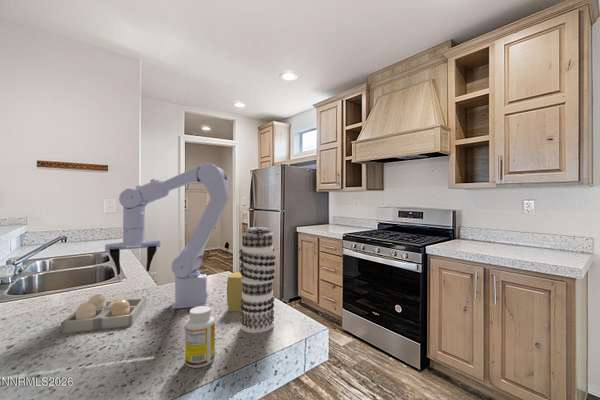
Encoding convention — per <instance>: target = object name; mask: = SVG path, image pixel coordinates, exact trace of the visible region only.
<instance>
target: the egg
mask: <svg viewBox="0 0 600 400" xmlns="http://www.w3.org/2000/svg"><path fill="white" fill-rule="evenodd" d="M116 300H117V299H116ZM129 314H130V304H129V302H128V301H127V300H125V299H122V298H120V299H118V300H117V301H116V302H115V303H114V304H113V305H112V308H111V316H122V315H129Z"/></svg>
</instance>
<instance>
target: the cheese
mask: <svg viewBox="0 0 600 400" xmlns="http://www.w3.org/2000/svg"><path fill="white" fill-rule="evenodd" d="M241 277H242V275H241V273H240V271H237V272H236V271H235V272H232V273H230V274H229V275H228V277H227V281H226V282H227V283H226V302H227V310H228V312H241V311H242V309H241V305H242V303H241V298H242V291H243V282H242V281H241Z"/></svg>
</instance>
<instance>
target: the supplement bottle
mask: <svg viewBox="0 0 600 400" xmlns="http://www.w3.org/2000/svg"><path fill="white" fill-rule="evenodd" d="M211 314H212V312H211V307H210V306H207V305H205V306H198V307H191V308H190V310H189V315H188V317H189V318H188V319H187V320H186V321H185V323H184V330H185V331H184V341H185V342H184V349H185V350H184V353H185V355H184V361H185V365H186V366H188V367H189V368H194V369H197V368H203V367H206V366H208V365H210V364H211V363H212V362H213V361H214V359H215V356H216V354H215V353H216V351H215V349H216V344H215V343H216V341H215V340H216V336H215V335H216V333H215V329H216V328H215V326H216V325H215V324H216V322H215V321H216V320H215V317H214V316H212V315H211Z"/></svg>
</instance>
